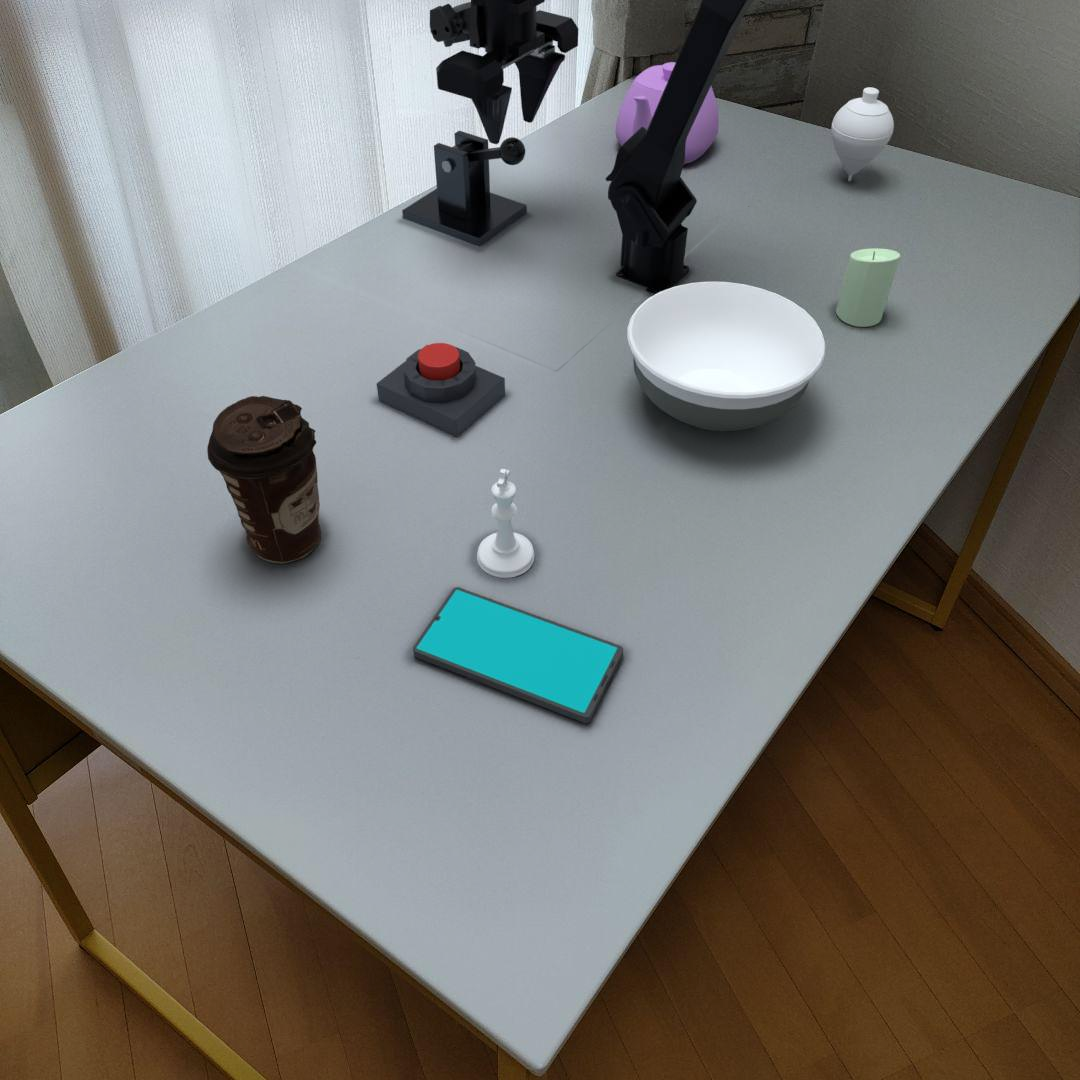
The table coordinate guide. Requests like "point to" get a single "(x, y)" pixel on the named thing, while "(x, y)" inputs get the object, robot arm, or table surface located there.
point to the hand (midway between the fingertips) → (511, 132)
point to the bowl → (724, 353)
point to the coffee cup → (269, 475)
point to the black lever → (496, 152)
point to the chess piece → (505, 536)
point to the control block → (442, 394)
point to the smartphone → (520, 653)
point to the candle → (867, 286)
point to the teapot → (645, 101)
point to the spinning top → (861, 130)
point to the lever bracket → (464, 197)
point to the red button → (439, 361)
